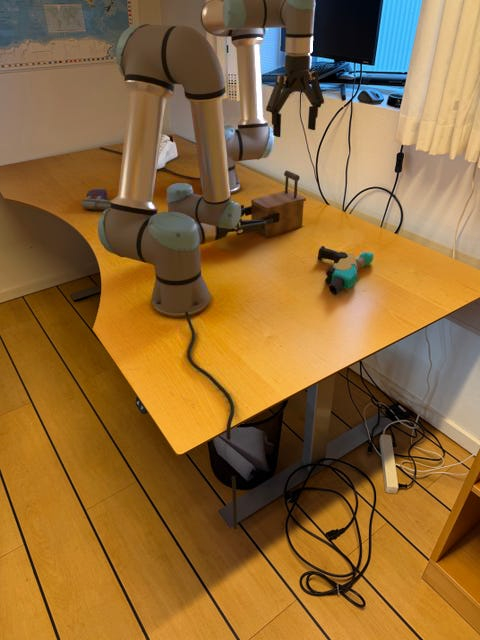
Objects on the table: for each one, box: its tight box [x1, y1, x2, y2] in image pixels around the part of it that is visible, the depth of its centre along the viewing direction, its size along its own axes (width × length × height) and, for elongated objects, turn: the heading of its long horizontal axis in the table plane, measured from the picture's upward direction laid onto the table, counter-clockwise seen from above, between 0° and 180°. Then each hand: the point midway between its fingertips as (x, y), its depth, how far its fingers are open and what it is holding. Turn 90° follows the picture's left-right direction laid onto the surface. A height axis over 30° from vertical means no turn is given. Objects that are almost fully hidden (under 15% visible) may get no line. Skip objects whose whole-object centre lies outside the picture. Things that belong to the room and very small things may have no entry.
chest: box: [250, 201, 305, 239], centre depth 159 cm, size 15×9×9 cm, turn 123°
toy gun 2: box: [317, 245, 375, 296], centre depth 134 cm, size 4×26×15 cm
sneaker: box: [157, 133, 179, 170], centre depth 214 cm, size 10×29×12 cm, turn 163°
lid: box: [250, 170, 307, 212], centre depth 154 cm, size 16×9×9 cm, turn 123°
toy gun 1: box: [80, 188, 112, 211], centre depth 178 cm, size 4×19×15 cm
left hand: (269, 212), depth 157 cm, fingers closed on chest, 9 cm apart
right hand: (294, 132), depth 146 cm, fingers open, 13 cm apart
